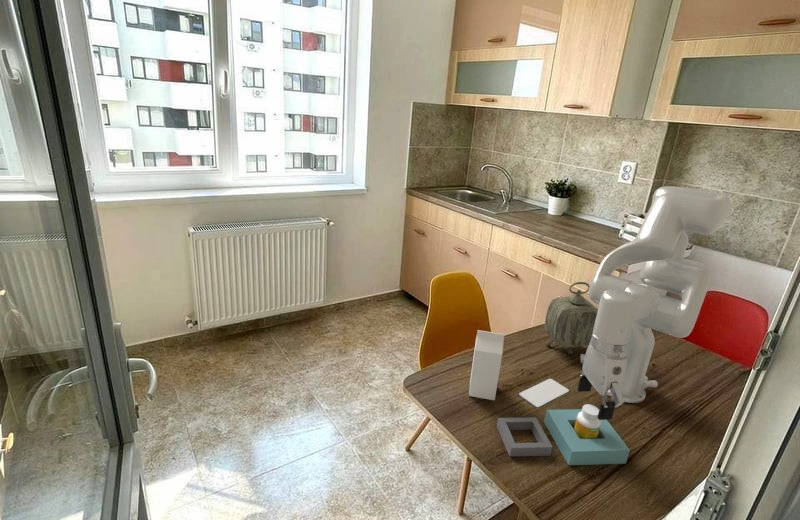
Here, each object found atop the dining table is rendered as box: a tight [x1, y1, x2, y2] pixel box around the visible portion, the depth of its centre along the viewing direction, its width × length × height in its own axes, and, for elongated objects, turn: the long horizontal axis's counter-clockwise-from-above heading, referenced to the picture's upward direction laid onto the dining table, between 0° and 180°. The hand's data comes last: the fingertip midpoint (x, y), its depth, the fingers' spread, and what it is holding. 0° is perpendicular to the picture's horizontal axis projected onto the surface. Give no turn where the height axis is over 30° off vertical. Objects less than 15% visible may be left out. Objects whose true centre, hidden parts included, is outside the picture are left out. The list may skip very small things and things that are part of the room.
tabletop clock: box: [544, 281, 598, 355], centre depth 142 cm, size 14×9×25 cm, turn 98°
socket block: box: [543, 408, 631, 466], centre depth 106 cm, size 14×14×4 cm
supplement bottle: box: [574, 403, 601, 439], centre depth 105 cm, size 5×5×10 cm
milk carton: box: [468, 329, 505, 401], centre depth 120 cm, size 7×7×19 cm
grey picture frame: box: [496, 416, 553, 457], centre depth 106 cm, size 10×10×2 cm
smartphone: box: [517, 378, 570, 409], centre depth 125 cm, size 7×1×15 cm
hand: (593, 404), depth 104 cm, fingers open, 9 cm apart
